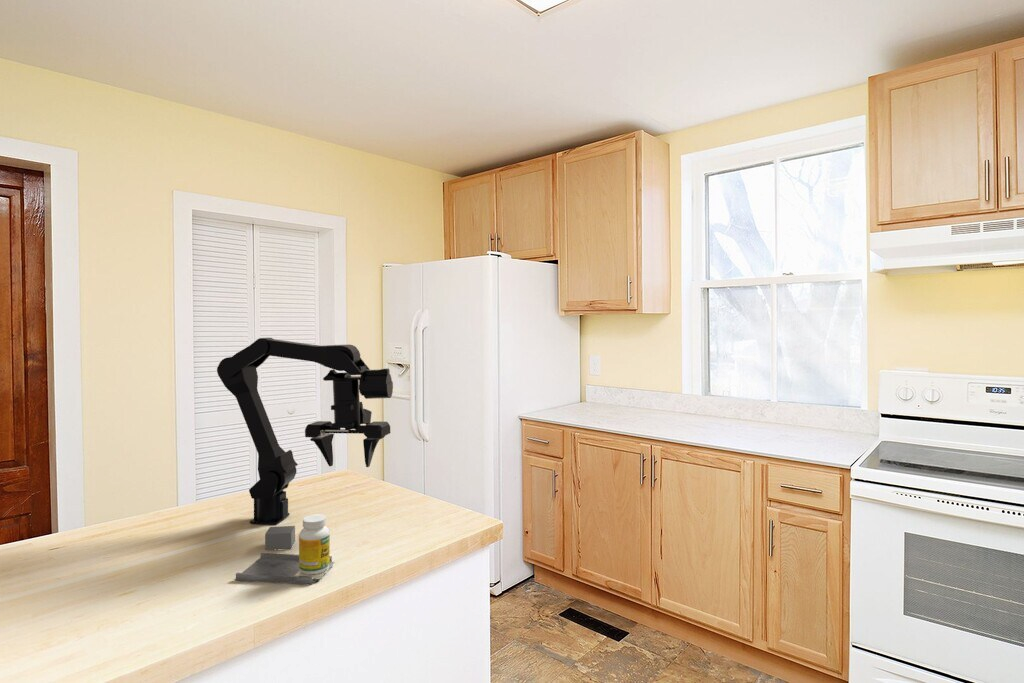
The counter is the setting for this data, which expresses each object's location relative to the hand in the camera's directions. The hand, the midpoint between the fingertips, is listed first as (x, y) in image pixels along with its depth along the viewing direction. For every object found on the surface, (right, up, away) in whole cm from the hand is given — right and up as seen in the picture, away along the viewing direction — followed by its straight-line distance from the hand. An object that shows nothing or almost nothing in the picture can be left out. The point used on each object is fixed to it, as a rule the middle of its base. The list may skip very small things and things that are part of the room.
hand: (349, 466), depth 129 cm
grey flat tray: (-5, -14, -25) cm, 29 cm away
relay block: (-10, -14, -14) cm, 22 cm away
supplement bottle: (+1, -14, -25) cm, 29 cm away
